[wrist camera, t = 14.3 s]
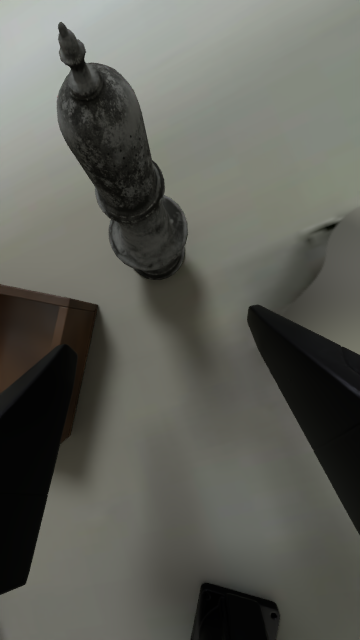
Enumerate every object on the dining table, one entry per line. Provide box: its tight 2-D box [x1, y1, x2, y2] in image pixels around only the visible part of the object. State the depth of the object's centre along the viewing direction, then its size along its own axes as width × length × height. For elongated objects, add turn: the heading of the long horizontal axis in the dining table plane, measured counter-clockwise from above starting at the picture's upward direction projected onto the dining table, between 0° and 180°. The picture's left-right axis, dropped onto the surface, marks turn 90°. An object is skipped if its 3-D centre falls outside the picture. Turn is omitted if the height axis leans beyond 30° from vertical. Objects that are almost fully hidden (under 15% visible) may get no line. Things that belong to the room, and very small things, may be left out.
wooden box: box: [0, 284, 98, 444], centre depth 14 cm, size 12×12×4 cm
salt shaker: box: [57, 22, 188, 280], centre depth 10 cm, size 6×6×12 cm
